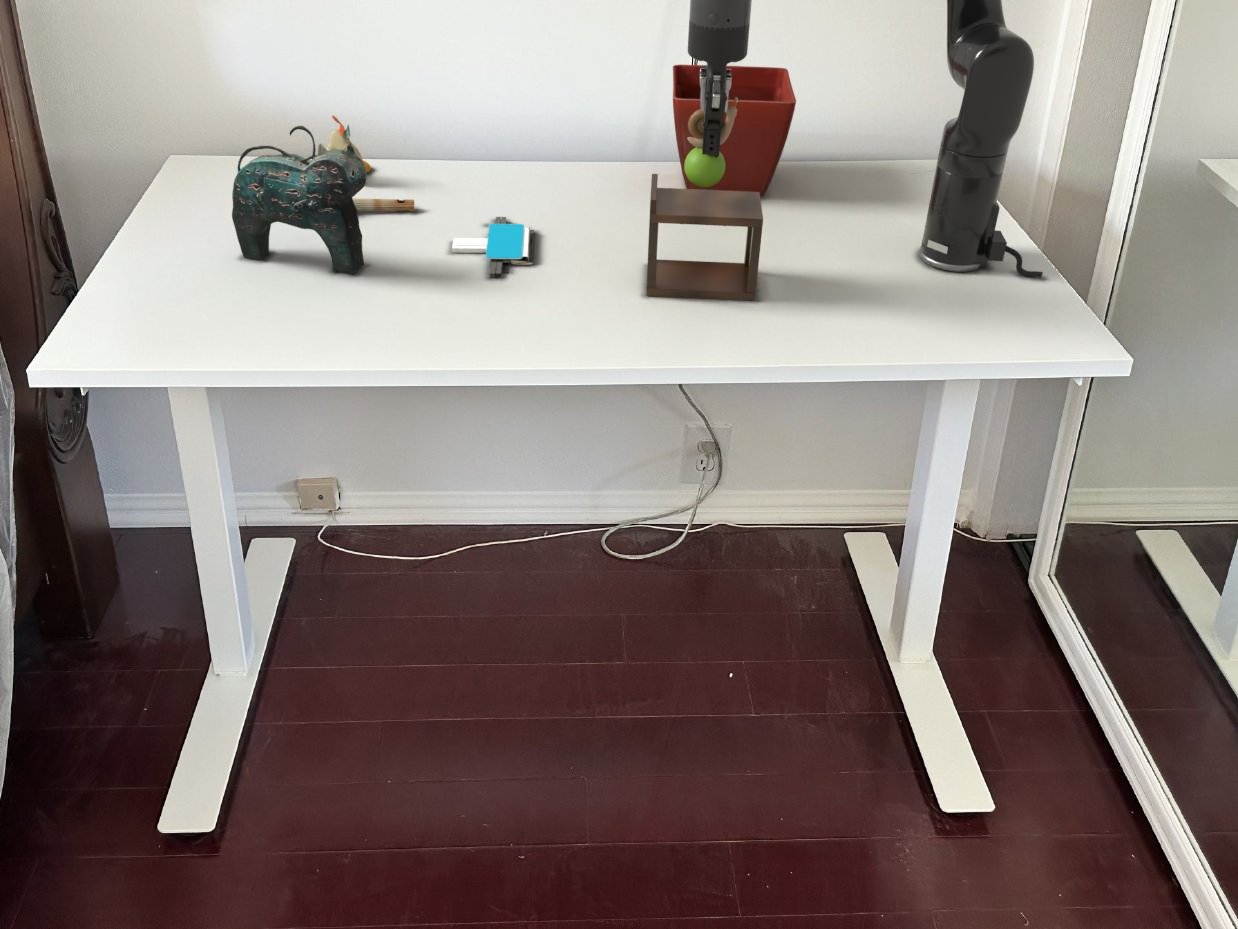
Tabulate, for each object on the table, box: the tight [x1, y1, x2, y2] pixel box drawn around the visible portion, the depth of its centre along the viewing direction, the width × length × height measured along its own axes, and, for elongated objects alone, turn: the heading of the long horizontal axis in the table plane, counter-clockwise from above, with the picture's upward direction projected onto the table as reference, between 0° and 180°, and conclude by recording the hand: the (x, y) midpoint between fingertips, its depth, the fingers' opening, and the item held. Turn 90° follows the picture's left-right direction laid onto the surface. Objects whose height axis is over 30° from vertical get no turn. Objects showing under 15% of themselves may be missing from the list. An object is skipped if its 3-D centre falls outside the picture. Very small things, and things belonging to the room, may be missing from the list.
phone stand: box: [451, 216, 535, 278], centre depth 173 cm, size 20×12×2 cm, turn 3°
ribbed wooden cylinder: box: [352, 197, 415, 212], centre depth 182 cm, size 4×3×20 cm
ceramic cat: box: [231, 125, 368, 275], centre depth 161 cm, size 20×6×20 cm, turn 74°
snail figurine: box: [684, 97, 738, 187], centre depth 153 cm, size 5×6×12 cm
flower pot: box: [672, 64, 797, 197], centre depth 192 cm, size 19×19×17 cm
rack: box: [645, 173, 764, 302], centre depth 161 cm, size 15×10×14 cm, turn 87°
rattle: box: [325, 115, 372, 174], centre depth 191 cm, size 8×8×12 cm
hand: (710, 152), depth 154 cm, fingers closed on snail figurine
